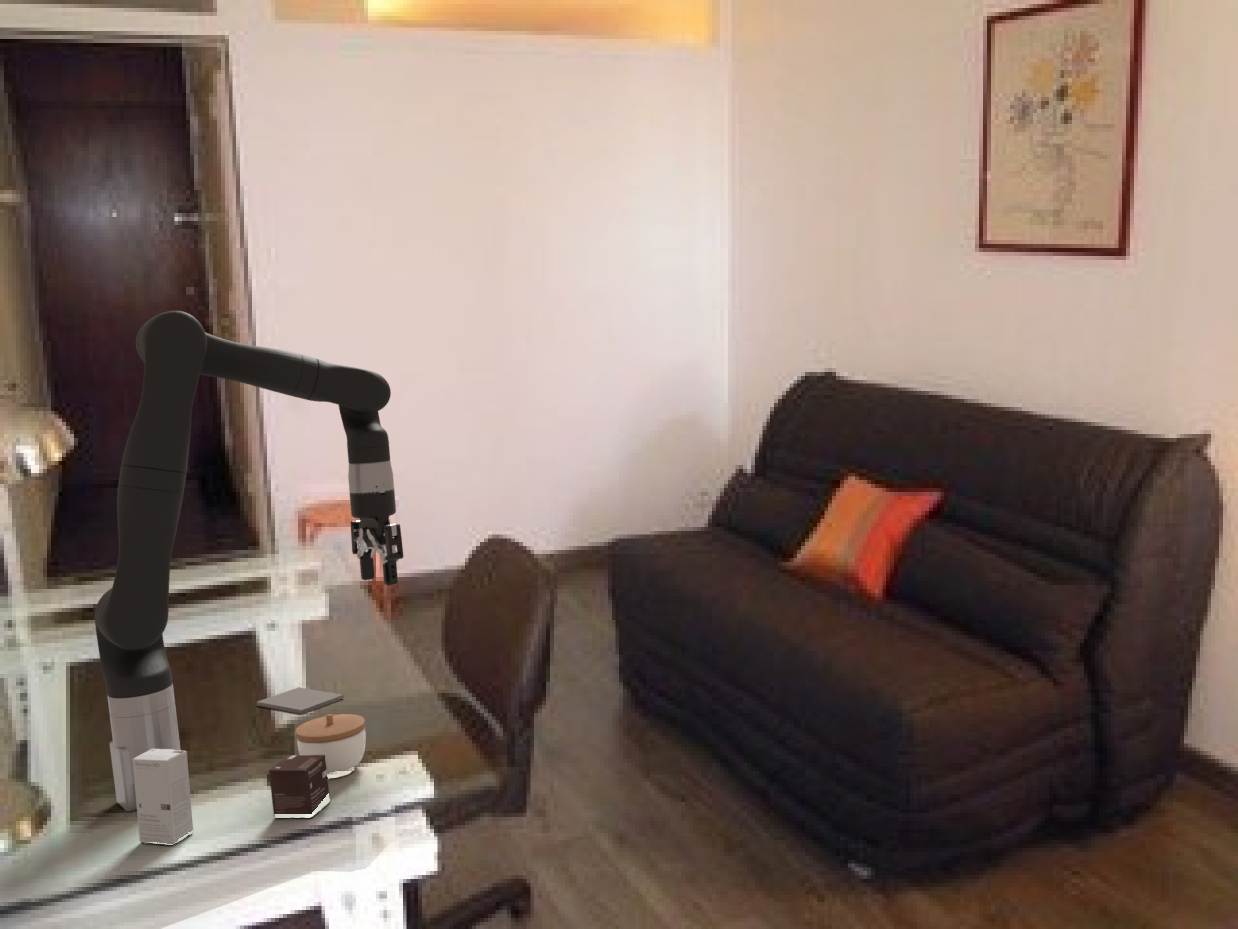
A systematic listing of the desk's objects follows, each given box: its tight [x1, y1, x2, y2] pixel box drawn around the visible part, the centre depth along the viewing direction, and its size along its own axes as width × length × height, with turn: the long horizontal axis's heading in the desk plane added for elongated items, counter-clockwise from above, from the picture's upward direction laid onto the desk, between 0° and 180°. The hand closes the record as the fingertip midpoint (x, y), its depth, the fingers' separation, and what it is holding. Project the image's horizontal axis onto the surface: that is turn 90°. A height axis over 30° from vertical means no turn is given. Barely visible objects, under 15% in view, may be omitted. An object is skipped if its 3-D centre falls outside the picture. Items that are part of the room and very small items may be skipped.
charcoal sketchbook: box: [256, 687, 345, 715], centre depth 209 cm, size 10×14×1 cm
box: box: [268, 754, 330, 815], centre depth 154 cm, size 6×6×7 cm
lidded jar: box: [294, 713, 367, 773], centre depth 168 cm, size 11×11×9 cm
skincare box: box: [132, 749, 194, 844], centre depth 147 cm, size 6×4×12 cm
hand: (379, 582), depth 183 cm, fingers open, 8 cm apart
